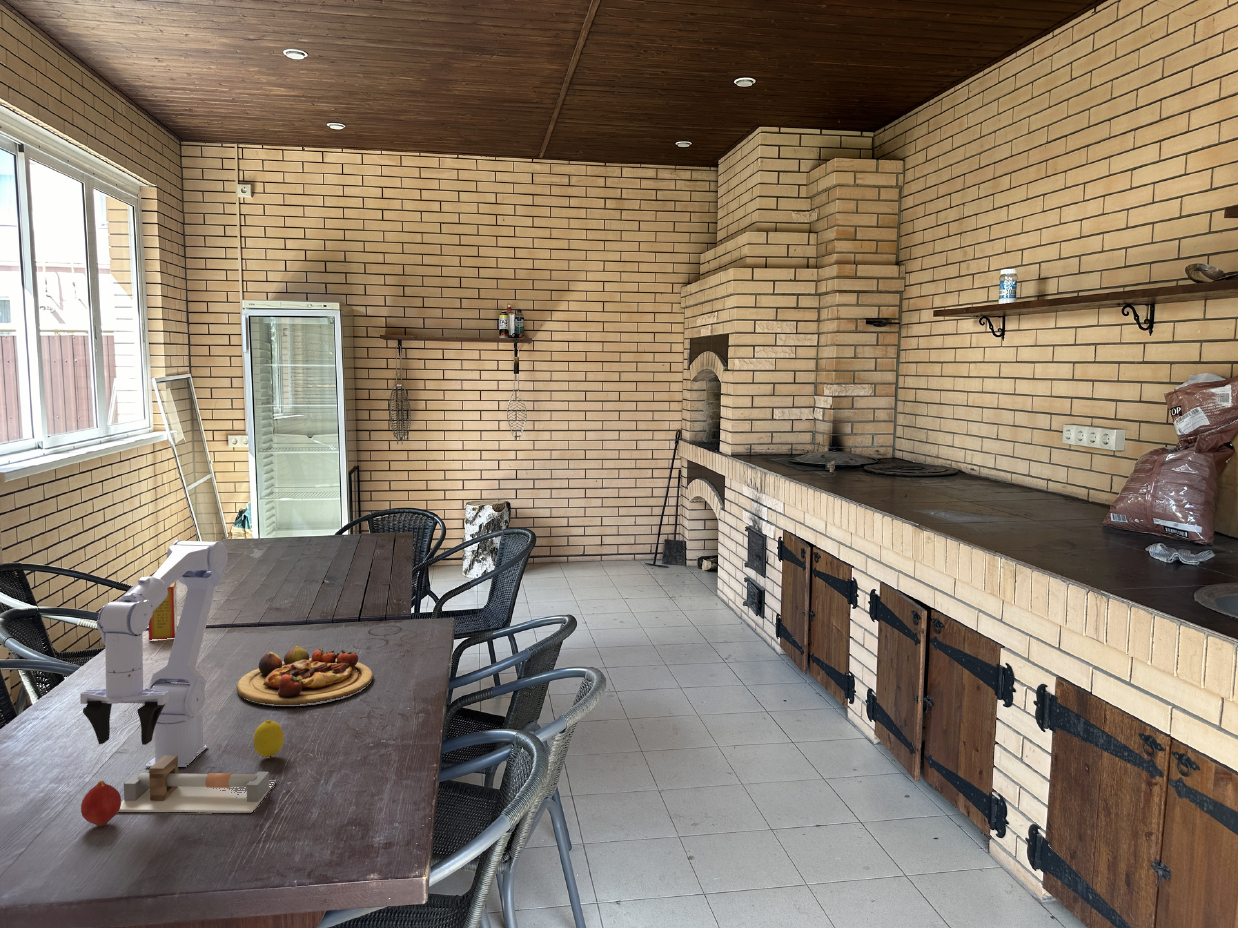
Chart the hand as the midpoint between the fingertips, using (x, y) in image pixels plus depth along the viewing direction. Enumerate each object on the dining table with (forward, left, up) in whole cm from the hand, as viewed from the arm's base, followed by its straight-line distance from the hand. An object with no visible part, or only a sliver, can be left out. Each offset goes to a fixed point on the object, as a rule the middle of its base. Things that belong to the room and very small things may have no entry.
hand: (125, 742), depth 148 cm
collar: (0, +7, -10) cm, 12 cm away
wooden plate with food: (-57, +12, -11) cm, 60 cm away
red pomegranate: (+9, +1, -11) cm, 14 cm away
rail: (0, +13, -10) cm, 16 cm away
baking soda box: (-94, -42, -11) cm, 104 cm away
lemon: (-16, +19, -11) cm, 27 cm away
